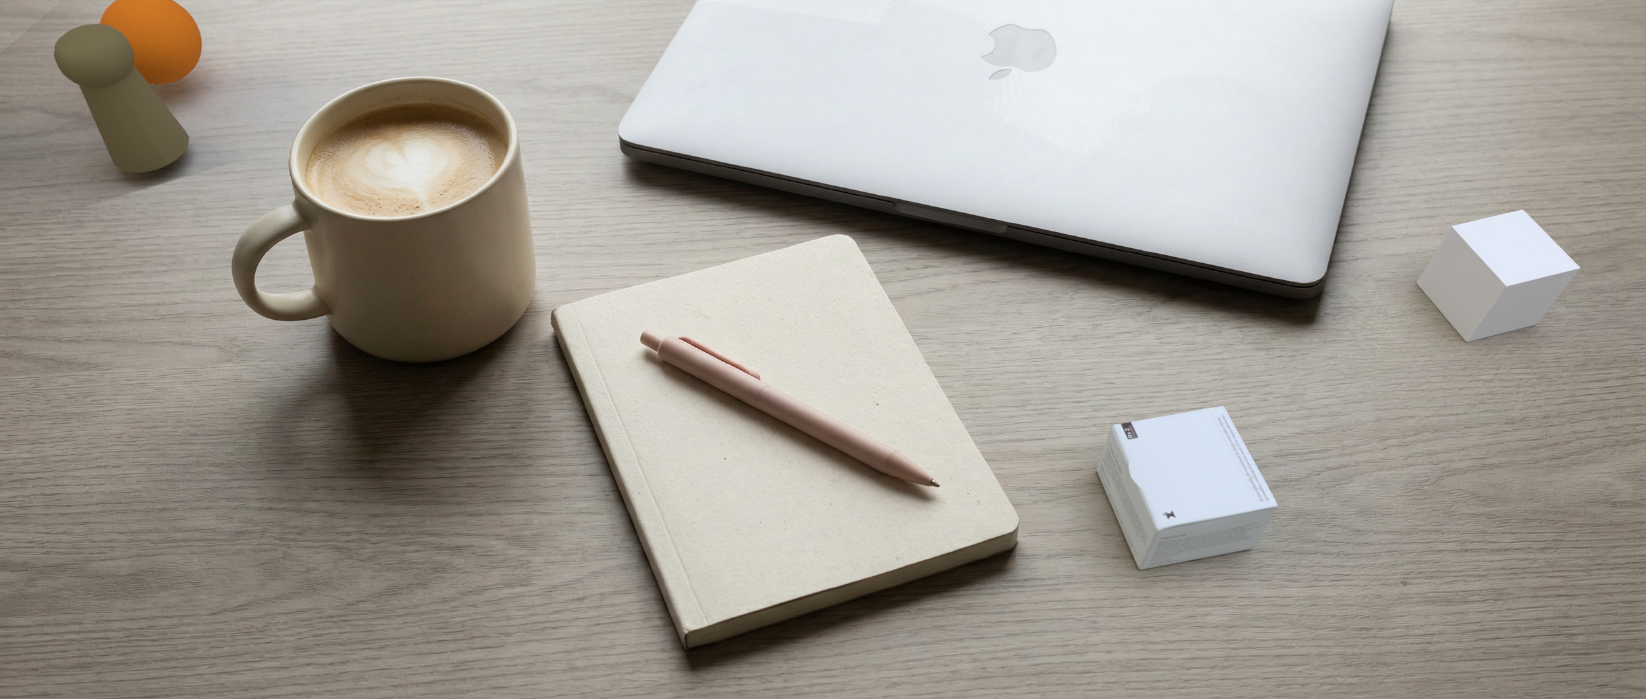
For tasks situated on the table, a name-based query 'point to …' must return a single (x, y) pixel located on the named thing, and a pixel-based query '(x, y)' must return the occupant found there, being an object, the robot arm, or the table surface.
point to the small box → (1184, 487)
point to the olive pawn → (120, 99)
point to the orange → (157, 37)
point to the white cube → (1496, 275)
